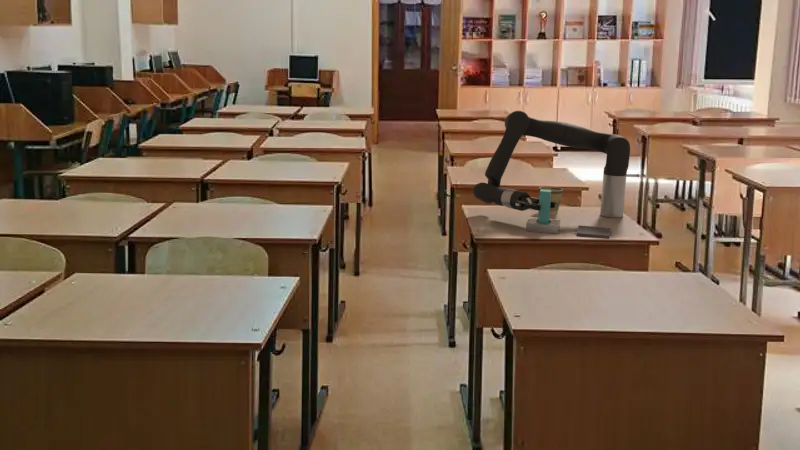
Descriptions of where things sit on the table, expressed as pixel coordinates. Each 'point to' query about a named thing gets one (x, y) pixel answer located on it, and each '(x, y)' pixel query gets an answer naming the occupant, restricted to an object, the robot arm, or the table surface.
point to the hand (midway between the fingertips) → (547, 206)
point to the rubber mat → (593, 231)
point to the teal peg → (544, 206)
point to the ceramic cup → (554, 196)
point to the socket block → (543, 225)
